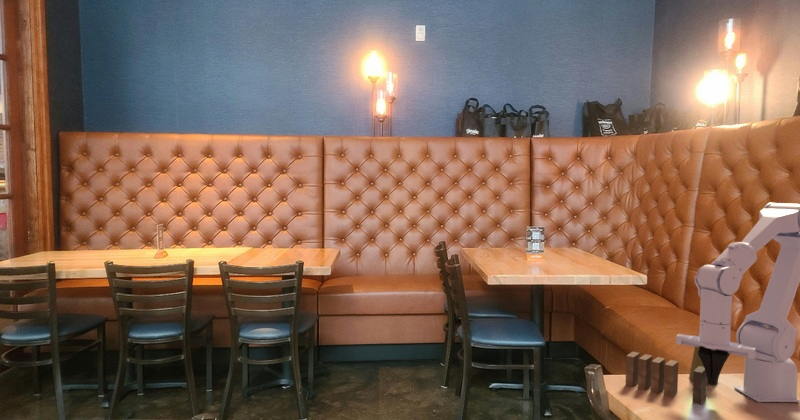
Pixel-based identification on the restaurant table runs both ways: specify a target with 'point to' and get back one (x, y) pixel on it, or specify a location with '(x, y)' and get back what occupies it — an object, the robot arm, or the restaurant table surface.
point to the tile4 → (644, 372)
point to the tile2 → (671, 378)
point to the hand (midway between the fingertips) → (712, 383)
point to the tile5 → (632, 368)
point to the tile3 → (657, 374)
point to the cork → (696, 363)
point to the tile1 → (699, 385)
